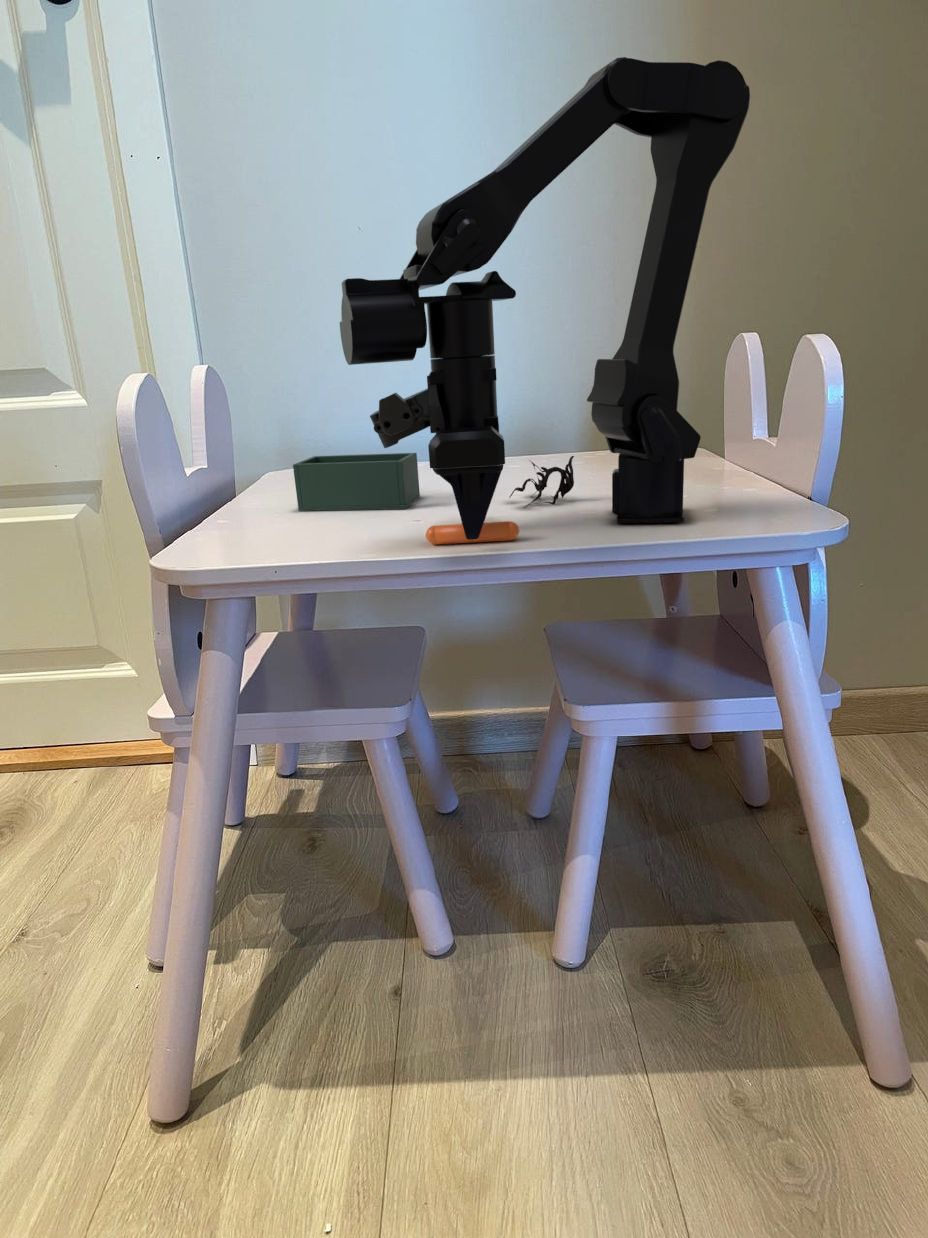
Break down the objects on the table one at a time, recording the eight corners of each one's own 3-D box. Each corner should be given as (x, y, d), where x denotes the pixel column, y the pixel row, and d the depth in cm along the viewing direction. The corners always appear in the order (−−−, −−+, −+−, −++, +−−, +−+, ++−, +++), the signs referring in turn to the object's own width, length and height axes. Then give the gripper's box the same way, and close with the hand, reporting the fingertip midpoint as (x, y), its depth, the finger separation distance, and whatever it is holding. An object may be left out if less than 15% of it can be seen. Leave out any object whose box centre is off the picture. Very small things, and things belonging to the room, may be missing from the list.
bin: (420, 497, 101) (416, 452, 100) (405, 509, 95) (401, 461, 93) (318, 500, 104) (313, 456, 102) (298, 511, 98) (292, 464, 96)
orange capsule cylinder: (518, 529, 79) (518, 516, 77) (519, 543, 78) (519, 530, 76) (426, 534, 79) (424, 521, 78) (426, 548, 78) (424, 536, 77)
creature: (508, 519, 92) (578, 502, 90) (495, 472, 90) (566, 453, 88) (518, 505, 99) (583, 489, 97) (506, 461, 98) (572, 444, 95)
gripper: (382, 359, 82) (396, 514, 87) (358, 366, 65) (377, 560, 70) (494, 353, 82) (501, 508, 87) (500, 357, 64) (509, 552, 69)
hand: (472, 529), depth 78 cm, fingers open, 7 cm apart
